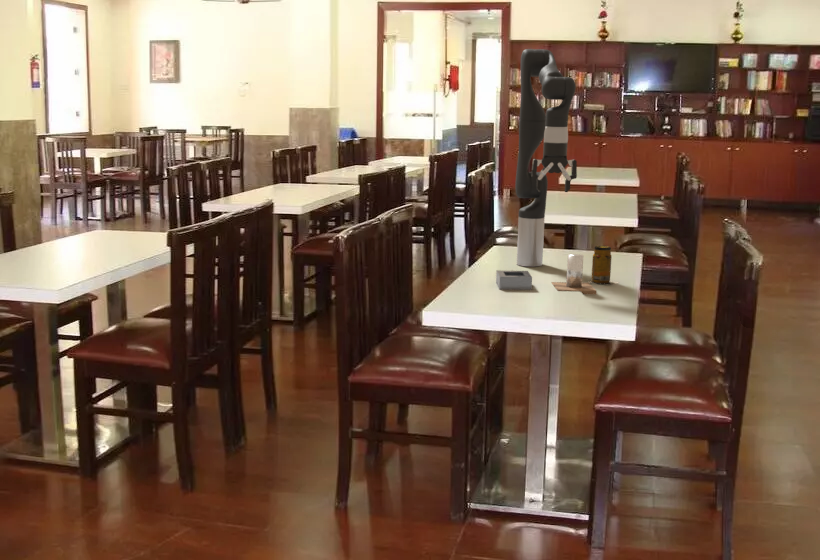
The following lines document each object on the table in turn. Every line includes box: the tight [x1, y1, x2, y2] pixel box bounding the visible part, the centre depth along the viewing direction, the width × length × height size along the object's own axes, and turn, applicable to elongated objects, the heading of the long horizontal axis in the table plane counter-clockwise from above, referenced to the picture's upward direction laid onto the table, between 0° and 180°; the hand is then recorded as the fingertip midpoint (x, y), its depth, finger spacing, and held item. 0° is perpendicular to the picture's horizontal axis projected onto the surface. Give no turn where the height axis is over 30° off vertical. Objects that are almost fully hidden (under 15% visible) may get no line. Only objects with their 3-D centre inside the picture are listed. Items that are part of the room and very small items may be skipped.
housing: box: [495, 269, 533, 291], centre depth 290 cm, size 10×10×5 cm
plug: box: [566, 253, 584, 288], centre depth 290 cm, size 5×5×10 cm
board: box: [551, 281, 597, 295], centre depth 291 cm, size 12×12×1 cm
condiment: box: [587, 245, 620, 286], centre depth 302 cm, size 7×8×12 cm
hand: (553, 191), depth 297 cm, fingers open, 8 cm apart
